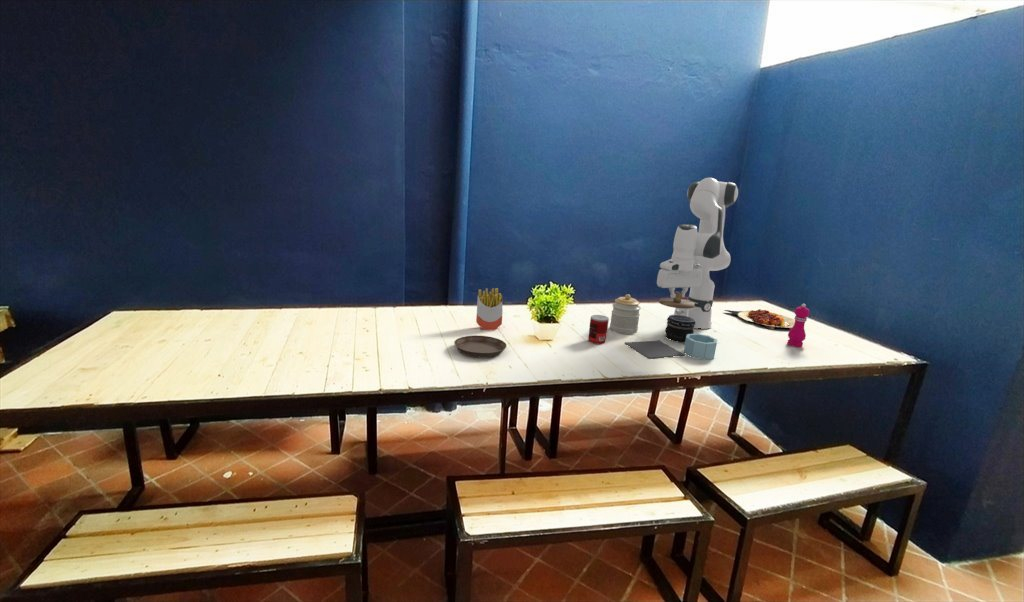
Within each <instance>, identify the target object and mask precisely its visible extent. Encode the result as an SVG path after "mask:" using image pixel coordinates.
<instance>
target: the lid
mask: <svg viewBox="0 0 1024 602" xmlns="http://www.w3.org/2000/svg"><path fill="white" fill-rule="evenodd" d="M674 293H675V294H676V298H671V297H661V298H660V299H659V301H658V302H659V304H660V305H663V306H665V307H670V308H675V309H676V308H683V309H689V308H694V306H695V304H694V303H693V302H691V301H688V300H687V299H685V298H681V297H682V291H674Z"/></svg>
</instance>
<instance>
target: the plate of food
mask: <svg viewBox="0 0 1024 602" xmlns="http://www.w3.org/2000/svg"><path fill="white" fill-rule="evenodd" d="M723 311H725V312H728V313H731V314H734V315H736V316H738V317H739V318H741V319H743V320H745V321H747V322H748V321H750V319H751V322H753V323H754V324H756V325H761V326H764V327H765V328H766V329H768V330H769V331H770V330H771V331H772V330H774V329H775V328H786V329H787V328H789V329H791V328H792V327H793V326H794V323H795V319H794V318H791V317H789V316H785V315H782V314H778V313H775V312H771V311H770V310H766V309H760V308H759V309H757V310H753V309H751V310H746V311H743V310H741V311H740V310H729V309H725V310H723ZM785 322H787V323H788V324H789V325H788V324H787V323H785ZM785 326H786V327H785Z"/></svg>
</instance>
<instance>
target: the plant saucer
mask: <svg viewBox="0 0 1024 602" xmlns="http://www.w3.org/2000/svg"><path fill="white" fill-rule="evenodd" d="M453 343H454V344H453V345H454V346H455V348H456V349H457V350H458V351H459V352H460V353H461V354H463V355H465V356H467V357H471V358H478V359H487V358H493V357H496V356H498V355H501V354H502V353H503V352H504V350H506V348H507V345H508V344H507V343H506V342H505V341H503V340H501V339H500V338H496V337H493V336H487V335H477V334H476V335H465V336H460V337H458V338H456V339H455V340H454V342H453Z"/></svg>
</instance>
